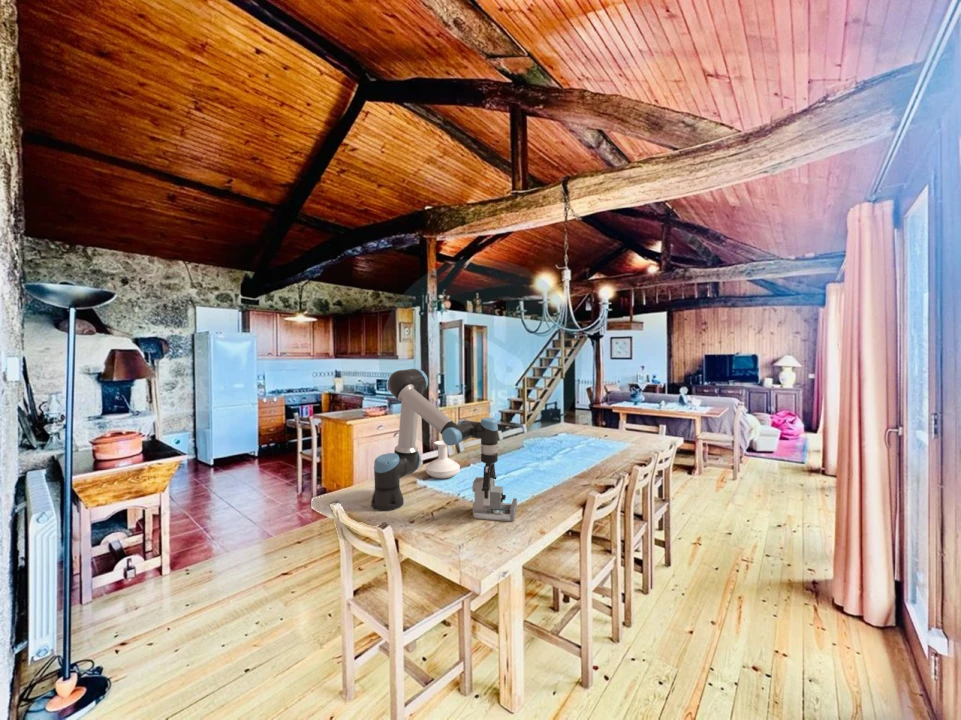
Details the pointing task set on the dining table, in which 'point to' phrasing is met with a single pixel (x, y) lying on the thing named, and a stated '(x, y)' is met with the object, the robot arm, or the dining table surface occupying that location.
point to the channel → (500, 516)
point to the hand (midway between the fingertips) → (489, 499)
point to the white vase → (442, 464)
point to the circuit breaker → (495, 496)
